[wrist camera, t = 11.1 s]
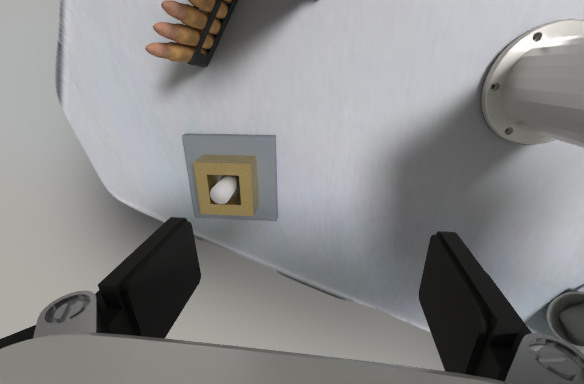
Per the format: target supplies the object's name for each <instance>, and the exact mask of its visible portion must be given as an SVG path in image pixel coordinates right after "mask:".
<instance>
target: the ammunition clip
mask: <svg viewBox="0 0 584 384" xmlns="http://www.w3.org/2000/svg"><path fill="white" fill-rule="evenodd" d="M188 1H189V2H190V3H191V4H192V5H194V6H191V5H189V4H182V3H178V2H176V1H164V2H162V3H161V6H162V8H163V9H164V10H165V11H166V12H167V13H168V14H169V15H170V16H172V17H174V18H176V19H178V20H180V21H182V22H183V23H184V24H186V25H183V24H172V23H165V22H160V23H156V24H155V25H154V26H153V28H154V30H155V31H156V32H157V33H158V34H159V35H161V36H163V37H165V38H168V39H171V40H174V41H176V42H177V43H175V42H169V43H151V44H149V45H147V46H146V48H145V49H146V51H147V52H149V53H150V54H152V55H154V56H156V57H160V58H165V59H169V60H171V61H179V62H188V64H190V65H197V66H203V67H207V66H208V64H209V62H210V60H211V58H212V55H213V53H214V51H215V49H216V47H217V45H218V42H219V40H220V38H221V36H222V34H223V32H224V29H225V27H226V25H227V23H228V21H229V19H230V16H231V14H232V12H233V10H234V8H235V6H236V3H237V1H238V0H188ZM199 8H200V9H202V10H204V11H206V12H207V13H206V12H203V11H201V10H199ZM193 27H194V28H193ZM196 28H197V29H196ZM199 29H200V30H199Z"/></svg>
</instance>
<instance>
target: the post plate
mask: <svg viewBox="0 0 584 384" xmlns="http://www.w3.org/2000/svg"><path fill="white" fill-rule="evenodd" d="M182 136H183V143H184V149H185V155H186V162H187V168H188V175H189V181H190V187H191V194H192V200H193V206H194V213H195V217H201V218H224V219H247V220H269V221H277V218H278V212H277V171H276V135H233V134H184V135H182ZM204 154H206V155H245V156H256V157H257V176H258V195H259V205H258V208H257V210H256V212H255V214H254V216H236V215H213V214H201V213H200V206H199V199H198V192H197V185H196V178H195V172H194V165H193V162H194V161H196V160H197V159H199V158H200V157H201V156H203V155H204ZM217 176H218V182H217V184H216V185H215V186H214V187H213V188H212V189H211V191H210V196H211V199H212V200H213V201H214V202H215V203H218V204H225V203H227V202H228V201H229V199H230V198H231V196H232V195H233V194H240V184H239V176H236V175H217Z"/></svg>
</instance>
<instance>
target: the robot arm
mask: <svg viewBox="0 0 584 384" xmlns="http://www.w3.org/2000/svg"><path fill="white" fill-rule="evenodd" d="M533 36H534V38H533ZM492 84H493V87H492V88H491V86H492ZM481 101H482V111H483V114H484V117H485V120H486V122H487V123H488V125H489V126H490V128H491V129H492V130H493V131H494V132H495V133H496V134H498V135H499V136H501V137H503V138H505V139H507V140H510V141H512V142H516V143H520V144H541V143H547V142H550V141H554V140H560V141H563V142H566V143H570V144H573V145H576V146H580V147H583V148H584V20H577V19H568V20H559V21H554V22H550V23H546V24H543V25H541V26H538V27H536V28H533V29H531V30H530V31H528V32H526V33H524V34H523V35H521V36H520V37H518V38H517V39H516V40H515V41H513V42H512V43H511V44H510V45H508V47H507V48H506V49H505V50H504V51H503V52H502V53H501V54H500V55H499V57H498V58H497V59H496V61H495V62H494V64H493V65H492V67H491V69H490V71H489V73H488V75H487V77H486V80H485V83H484V86H483V91H482V100H481ZM200 278H201V273H200V268H199V262H198V257H197V252H196V246H195V240H194V235H193V230H192V225H191V223H190V222H188V221H187V219H186V218H176V217H171V218H169V219H168V220H167V221H166V222H165V223H164V224H163V225H162V226H161V227H160V228H159V229H157V230H156V231H155V232H154V233H153V234H152V235H151V236H150V237H149V238H148V239H147V240H146V241H145V242H143V243H142V244H141V245H140V246H139V247H138V248H137V249H136V250H135V251H134V252H133V253H132V254H130V255H129V256H128V257H127V258H126V259H125V260H124V261H123V262H122V263H121V264H120V265H119V266H118V267H116V268H115V269H114V271H112V272H111V273H110V274H109V275H108V276H107V277H106V278H105V279H103V280H102V281H101V282H100V283H99V284H98V287H99V289H100V290H99V291H98V292H97V293H96V294H94V293H92V292H90V291H77V292H74V293H70V294H68V295H65V296H63V297H60V298H59V299H57V300H55V301H53V302H52V303H51V304H49V305H48V306H47V307H45V309H44V310H43V311H42V312H41V313H40V316H39V317H38V320H37V324H36V325H35V326H32V327H30V328H27V329H25V330H22V331H20V332H17V333H15V334H12V335H10V336H7V337H5V338H2V339H0V384H584V353H582V352H581V351H580V350H578V349H577V348H576V347H574V346H572V345H571V344H569V343H567V342H565V341H564V340H561V339H559V338H556V337H554V336H551V335H547V334H543V333H531V331H530V330H529V329H528V327H527V326H526V325H525V323H524V322H523V321H522V319H521V318H520V317H519V315H518V314H517V312H516V311H515V310H514V308H513V307H512V306H511V304H510V303H509V302H508V300H507V299H506V298H505V296H504V295H503V294H502V292H501V291H500V290H499V288H498V287H497V286H496V284H495V283H494V282H493V280H492V279H491V278H490V276H489V275H488V274H487V273H486V272H485V271H484V270H483V268H482V267H481V266H480V264H479V263H478V262H477V260H476V259H475V258H474V256H473V255H472V253H471V252H470V251H469V249H468V248H467V247H466V245H465V244H464V243H463V241H462V240H461V239H460V237H459V236H458V234H457V233H455V232H437V233H436V235H432V236H431V238H430V243H429V247H428V252H427V257H426V261H425V266H424V271H423V275H422V280H421V285H420V289H419V300H420V303H421V306H422V309H423V312H424V314H425V317H426V320H427V322H428V325H429V328H430V331H431V333H432V336H433V339H434V342H435V344H436V347H437V350H438V352H439V355H440V358H441V361H442V363H443V366H444V369H445V371H440V370H432V369H424V368H417V367H410V366H402V365H393V364H386V363H377V362H369V361H360V360H352V359H342V358H334V357H326V356H318V355H309V354H300V353H291V352H283V351H274V350H265V349H256V348H247V347H238V346H230V345H220V344H210V343H202V342H191V341H183V340H172V339H165V337H166V335H167V334H168V332H169V330H170V329H171V327H172V326H173V324H174V322H175V321H176V319H177V318H178V316H179V314H180V313H181V311H182V309H183V308H184V306H185V304H186V303H187V302H188V300H189V298H190V297H191V295H192V294H193V292H194V290H195V289H196V287H197V285H198V284H199V282H200Z"/></svg>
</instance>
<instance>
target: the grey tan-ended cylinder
mask: <svg viewBox="0 0 584 384" xmlns="http://www.w3.org/2000/svg"><path fill="white" fill-rule="evenodd" d="M547 322H548V325H549V327H550V329H551V331H552V332H553V333H554V334H555V336H556V337H557V338H559V339H561V340H564V341H565V342H567V343H569V344H571V345H572V346H574V347H576V348H577V349H578V350H580V351H581V352H584V292H579V291H573V292H567V293H564V294H561V295H559V296H558V297H556V298H555V299H554V300H553V301H552V302H551V303H550V305H549V306H548V309H547Z"/></svg>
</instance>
